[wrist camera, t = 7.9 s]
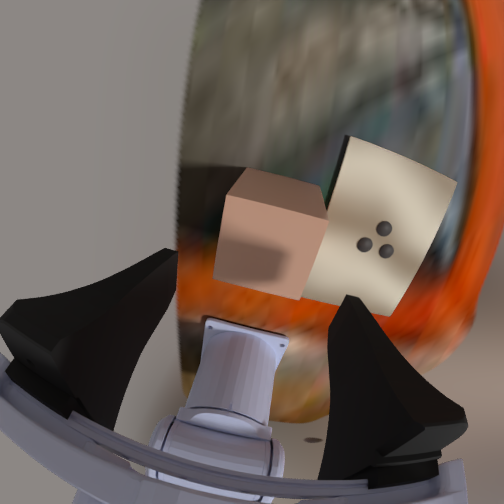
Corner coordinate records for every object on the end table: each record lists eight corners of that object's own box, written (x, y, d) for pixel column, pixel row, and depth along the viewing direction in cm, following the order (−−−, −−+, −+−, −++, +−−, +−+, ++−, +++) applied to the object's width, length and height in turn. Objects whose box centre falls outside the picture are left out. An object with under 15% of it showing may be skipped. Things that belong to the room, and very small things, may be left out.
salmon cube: (299, 248, 20) (299, 300, 15) (234, 232, 21) (212, 278, 15) (319, 185, 18) (329, 221, 13) (247, 167, 18) (226, 194, 13)
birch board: (389, 314, 22) (390, 317, 22) (296, 293, 22) (296, 296, 22) (455, 181, 16) (457, 182, 15) (349, 135, 16) (351, 136, 15)
